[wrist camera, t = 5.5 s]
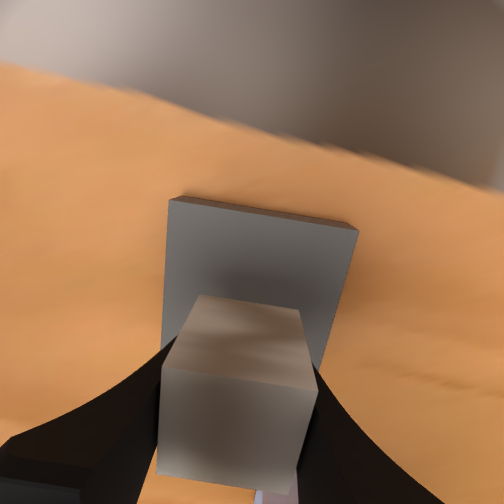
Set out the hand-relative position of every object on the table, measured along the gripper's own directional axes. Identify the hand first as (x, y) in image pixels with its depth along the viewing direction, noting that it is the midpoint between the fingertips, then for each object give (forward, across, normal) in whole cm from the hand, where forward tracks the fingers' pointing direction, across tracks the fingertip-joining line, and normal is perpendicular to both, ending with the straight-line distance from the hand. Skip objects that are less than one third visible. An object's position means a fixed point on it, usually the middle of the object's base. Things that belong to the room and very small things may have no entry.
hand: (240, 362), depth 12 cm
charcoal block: (+9, 0, 0) cm, 9 cm away
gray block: (+1, 0, 0) cm, 1 cm away
